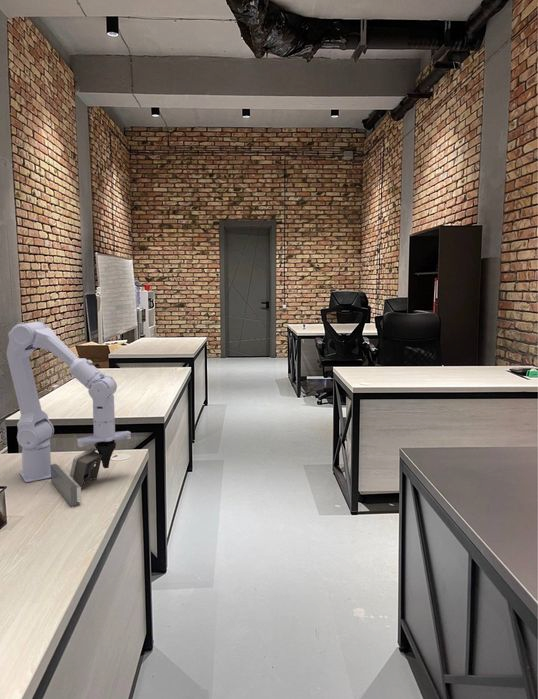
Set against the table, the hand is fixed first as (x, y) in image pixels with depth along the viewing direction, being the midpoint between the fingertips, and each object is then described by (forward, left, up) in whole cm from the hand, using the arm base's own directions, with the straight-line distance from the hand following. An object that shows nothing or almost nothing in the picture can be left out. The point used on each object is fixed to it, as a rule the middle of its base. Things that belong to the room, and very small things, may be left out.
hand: (105, 467), depth 150 cm
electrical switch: (+1, -6, -4) cm, 7 cm away
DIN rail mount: (+4, -13, -3) cm, 14 cm away
